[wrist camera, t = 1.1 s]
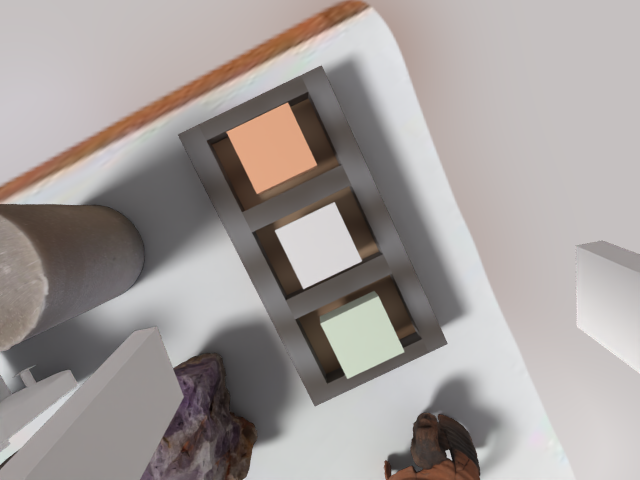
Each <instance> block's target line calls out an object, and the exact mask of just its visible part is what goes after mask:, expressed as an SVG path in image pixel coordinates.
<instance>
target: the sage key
mask: <svg viewBox="0 0 640 480" xmlns="http://www.w3.org/2000/svg"><path fill="white" fill-rule="evenodd" d="M320 324H321V326H322V328H323V330H324V332H325V334H326V336H327V338H328V340H329V342H330V344H331V346H332V348H333V351H334V353H335V355H336V357H337V359H338V361H339V363H340V365H341V367H342V369H343V371H344V373H345V375H346V377H347V379H348V378H351V377H353V376H355V375H357V374H359V373H361V372H363V371H365V370H368V369H370V368H372V367H374V366H376V365H378V364H380V363H382V362H384V361H387V360H389V359H391V358H393V357H395V356H397V355H399V354H401V353H404V350H403V347H402V345H401V343H400V341H399V339H398V337H397V335H396V332H395V330H394V328H393V326H392V324H391V322H390V320H389V318H388V315H387V313H386V311H385V309H384V307H383V305H382V303H381V300H380V298H379V296H378V295H377V294H376V292H375V291H373V292H371V293H368V294H366V295H364V296H362V297H360V298H358V299H356V300H354V301H352V302H349V303H347V304H345V305H343V306H341V307H339V308H337V309H335V310H333V311H330V312H328V313H326V314H324V315H322V316H320Z"/></svg>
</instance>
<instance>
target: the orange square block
mask: <svg viewBox="0 0 640 480" xmlns="http://www.w3.org/2000/svg"><path fill="white" fill-rule="evenodd" d="M227 134H228V136H229V138H230V140H231V142H232V144H233V146H234V148H235V150H236V153H237V155H238V157H239V159H240V161H241V163H242V165H243V167H244V169H245V171H246V173H247V175H248V177H249V179H250V181H251V183H252V185H253V187H254V189H255V191H256V193H257V194H259V195H261V194H263V193H265V192H267V191H269V190H271V189H273V188H275V187H277V186H280V185H282V184H284V183H286V182H288V181H290V180H292V179H294V178H296V177H298V176H300V175H303V174H305V173H307V172H309V171H311V170H313V169H315V168H317V164H316V161H315V159H314V157H313V155H312V153H311V151H310V149H309V146H308V144H307V142H306V140H305V138H304V136H303V134H302V131H301V129H300V127H299V125H298V123H297V121H296V119H295V116H294V114H293V112H292V110H291V108H290V106H289V104H288V103H286V104H283V105H281V106H279V107H277V108H275V109H273V110H271V111H269V112H267V113H265V114H263V115H261V116H259V117H256V118H254V119H252V120H250V121H248V122H246V123H244V124H242V125H240V126H238V127H236V128H234V129H232V130H229V131H227Z"/></svg>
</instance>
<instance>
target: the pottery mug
mask: <svg viewBox="0 0 640 480" xmlns="http://www.w3.org/2000/svg"><path fill="white" fill-rule="evenodd" d="M438 420H439V423H438V422H437V419H436V417H435V416H434V415H432V414H430V413H422V414H420V415H419V416H418V417H417V420H416V422H415V423H414V426H413V439H412V444H411V454H412V456H413V460H414V462H415V464H416V465H417V466H419V467H421V468H423V469H422V470H421V471H419V472H416V470H415V469H414V467H413V466H409V467H407V468H405V469H402V470H400V471H398V472H397V473H396V474H393V475H392V476H391V466H390V464H389V463H388V461H386V460H385V465H384V469H385V478H386V480H480V477H479V476H480V467H479V462H478V459H477V453H476V450H475V448H474V446H473V443H472V439H471V437H470V435H469V433H468V431H467V430H466V429H465V428H464V426H462V425H461V424H460V423H458V422H457V421H456V420H454V419H452V418H449V417H447V416H444V415H441V414H439V415H438ZM448 449H449V450H450V453H451V457H452V461H451V460H450V459H449V458H446V456H447V455H446V452H445V451H446V450H448Z"/></svg>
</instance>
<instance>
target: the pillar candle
mask: <svg viewBox="0 0 640 480" xmlns="http://www.w3.org/2000/svg"><path fill="white" fill-rule="evenodd" d="M144 257H145V256H144V245H143V242H142V239H141V237H140V234H139V233H138V231H137V230H136V228H135V227H134V225H133V224H132V223H131V222H130V221H129V220H128V219H127V218H126V217H125V216H123V215H122V214H121V213H119V212H117V211H115V210H113V209H111V208H109V207H105V206H100V205H57V204H38V205H35V204H25V205H20V204H0V352H1V351H6V350H9V349H11V347H12V346H14V345H16V344H18V343H21V342H23V341H25V340H27V339H29V338H31V337H33V336H35V335H37V334H40V333H42V332H44V331H46V330H48V329H50V328H52V327H54V326H56V325H58V324H61V323H63V322H65V321H67V320H69V319H71V318H73V317H75V316H78V315H80V314H82V313H84V312H86V311H89V310H91V309H93V308H95V307H97V306H99V305H101V304H103V303H105V302H107V301H109V300H111V299H113V298H116V297H118V296H120V295H121V294H123V293H124V292H125V291H127V290H128V289H129V288H130V287H131V286H132V285H133V284H134V283H135V281H136V280H137V278H138V277H139V275H140V273H141V271H142V268H143V264H144Z"/></svg>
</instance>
